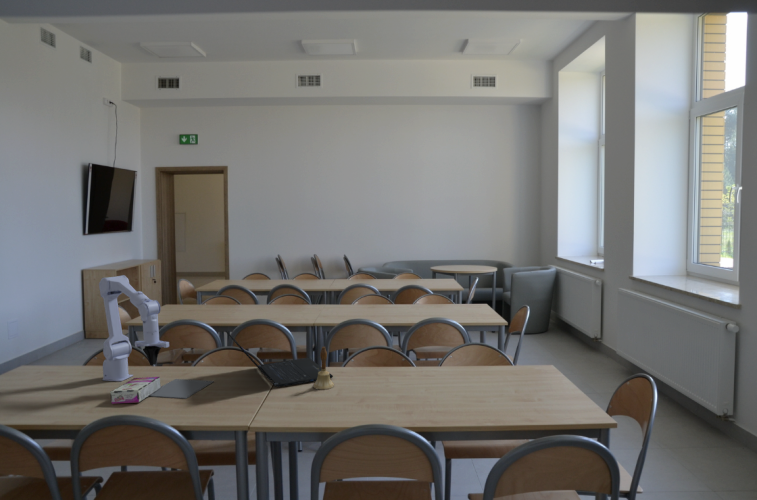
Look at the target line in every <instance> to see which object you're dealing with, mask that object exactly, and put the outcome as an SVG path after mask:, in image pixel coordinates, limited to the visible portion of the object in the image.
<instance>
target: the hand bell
mask: <svg viewBox="0 0 757 500" xmlns="http://www.w3.org/2000/svg"><path fill="white" fill-rule="evenodd" d="M319 356H320V361H321V367H322V371H320V372H319V373H318V377H317V380H316V381H314V382H313V383H312V384H313V385H312V387H313V389H317V390H321V391H322V390H323V391H324V390H330V389H332V388H334V387H335V384H334V382H333V381H332V380H331V379H332V378H331V379H330V375H329V373H330V372H329V371H327V366H326V365H327V364H326V361H327V357H328V352H327V350H326V346H322V347H321V349H320V355H319Z"/></svg>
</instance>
